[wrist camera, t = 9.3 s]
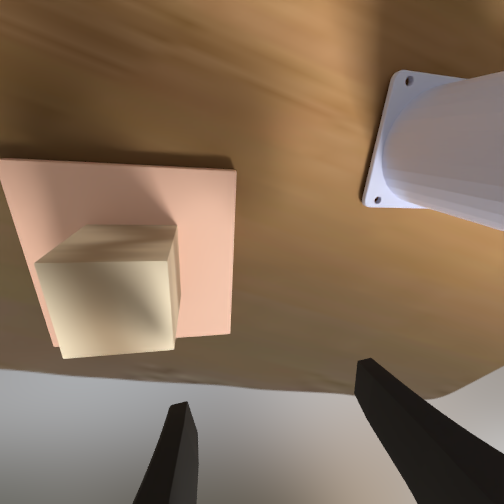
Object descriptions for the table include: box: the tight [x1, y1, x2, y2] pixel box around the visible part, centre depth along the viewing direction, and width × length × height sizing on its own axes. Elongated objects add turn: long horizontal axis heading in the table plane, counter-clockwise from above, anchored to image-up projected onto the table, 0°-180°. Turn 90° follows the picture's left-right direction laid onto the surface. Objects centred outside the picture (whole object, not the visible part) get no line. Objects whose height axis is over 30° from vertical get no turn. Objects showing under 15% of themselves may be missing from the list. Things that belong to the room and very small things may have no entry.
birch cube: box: [34, 224, 181, 359], centre depth 14 cm, size 5×5×5 cm
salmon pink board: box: [0, 158, 237, 347], centre depth 16 cm, size 12×12×1 cm
